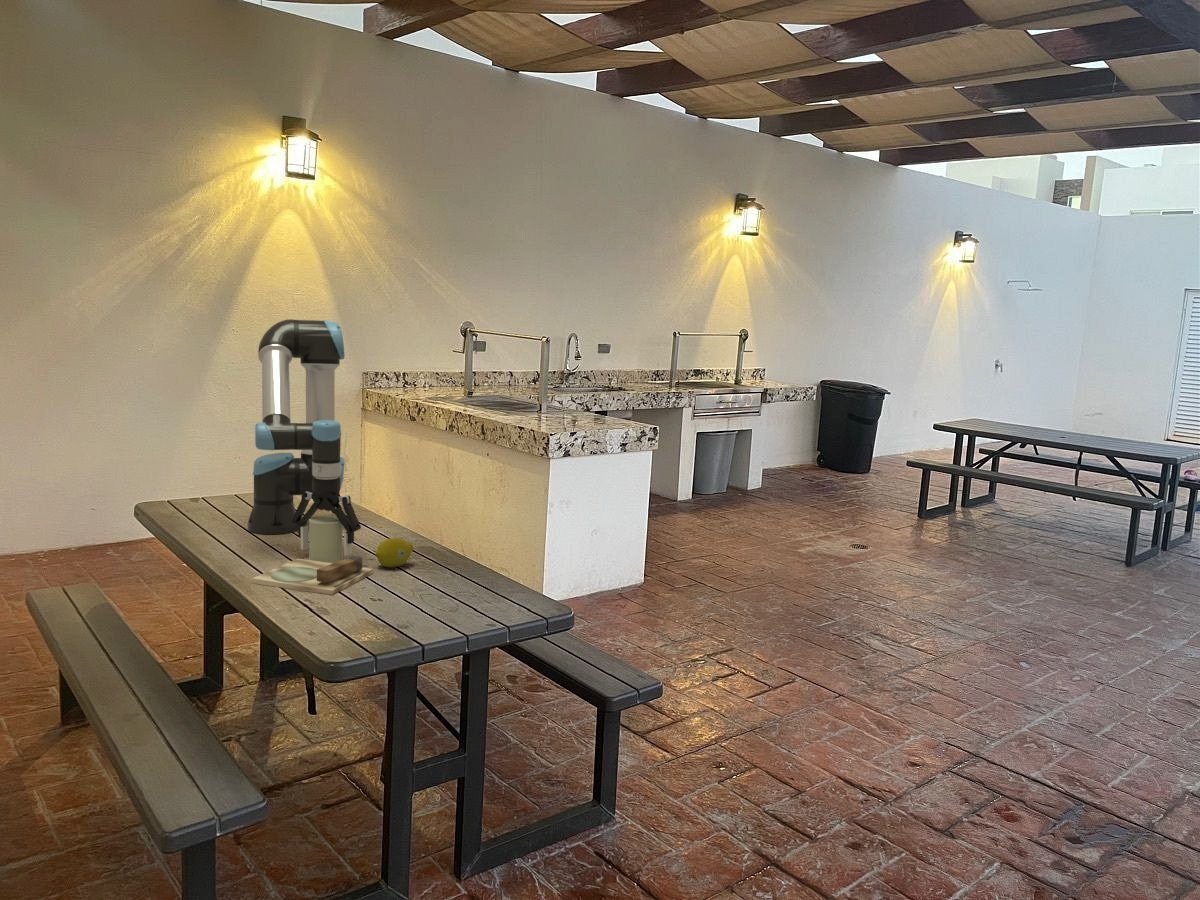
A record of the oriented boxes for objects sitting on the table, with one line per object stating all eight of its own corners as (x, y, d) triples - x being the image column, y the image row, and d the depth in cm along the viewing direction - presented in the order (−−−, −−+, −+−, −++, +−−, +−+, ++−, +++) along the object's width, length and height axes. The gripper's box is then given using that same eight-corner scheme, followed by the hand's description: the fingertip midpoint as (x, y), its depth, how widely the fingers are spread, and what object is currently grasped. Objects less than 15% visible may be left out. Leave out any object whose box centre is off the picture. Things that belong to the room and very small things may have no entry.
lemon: (378, 572, 247) (378, 543, 246) (370, 564, 254) (371, 536, 252) (417, 568, 252) (418, 540, 251) (408, 560, 259) (409, 533, 258)
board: (297, 562, 252) (297, 557, 251) (372, 573, 246) (373, 567, 246) (251, 583, 233) (251, 576, 232) (332, 595, 227) (332, 588, 227)
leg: (353, 565, 245) (354, 555, 244) (365, 568, 243) (365, 557, 243) (315, 580, 231) (315, 569, 230) (327, 583, 229) (327, 571, 229)
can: (333, 565, 251) (333, 523, 249) (302, 562, 253) (302, 519, 251) (348, 556, 260) (349, 515, 258) (319, 553, 262) (319, 512, 260)
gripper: (278, 474, 252) (278, 549, 255) (359, 483, 246) (358, 560, 249) (294, 470, 259) (294, 543, 263) (373, 479, 253) (372, 553, 256)
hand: (325, 551), depth 256 cm, fingers open, 13 cm apart
